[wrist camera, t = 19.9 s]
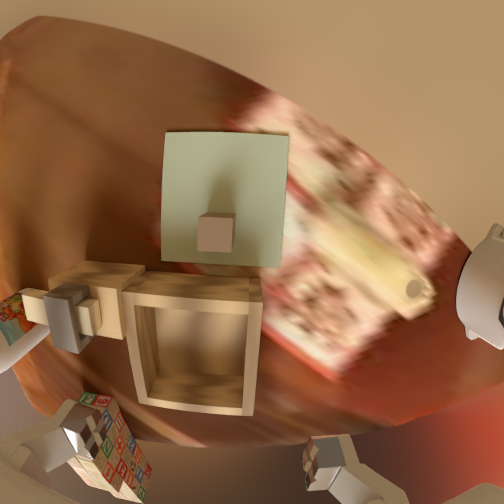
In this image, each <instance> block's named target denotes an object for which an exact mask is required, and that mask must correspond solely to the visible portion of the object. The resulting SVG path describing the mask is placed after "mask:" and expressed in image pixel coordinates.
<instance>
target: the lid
mask: <svg viewBox="0 0 504 504" xmlns="http://www.w3.org/2000/svg"><path fill="white" fill-rule="evenodd" d="M288 143H289V136H281V135H268V134H253V133H232V132H169V133H166V134H165V146H164V160H163V177H162V202H161V261H172V262H187V263H204V264H220V265H238V266H256V267H276V268H280V261H281V249H282V236H283V223H284V209H285V194H286V179H287V162H288Z"/></svg>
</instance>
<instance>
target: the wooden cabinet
mask: <svg viewBox="0 0 504 504" xmlns="http://www.w3.org/2000/svg"><path fill="white" fill-rule="evenodd" d="M48 285H49V291H50V292H48V293H46V294H45V295H43V299H44V305H45V310H46V315H47V319H48V324H49V328H50V332H51V336H52V340H53V344H54V347H55V348H59V349H62V350H66V351H69V352H73V353H77V354H79V353H80V352H81V351H82V350H83V349H84V348H85V347H86V346H87V345H88V343H89V342H90V341H91V340H92V339H93V338H94V337H95V336H96V335H100V336H105V337H111V338H116V339H122V340H123V338H124V337H125V336H127V343H128V349H129V355H130V361H131V366H132V372H133V377H134V382H135V386H136V391H137V395H138V400H139V403H142V404H147V405H153V406H158V407H164V408H171V409H178V410H185V411H193V412H202V413H213V414H226V415H244V416H253V408H254V398H255V388H256V377H257V366H258V355H259V344H260V333H261V321H262V309H263V299H262V291H261V283H260V278H250V277H233V276H217V275H201V274H187V273H173V272H160V271H147V270H146V265H135V264H122V263H110V262H99V261H87V260H85V261H83V262H81V263H79V264H77V265H75V266H73V267H71V268H69V269H67V270H65V271H63V272H61V273H59V274H57V275H55V276H54V277H52V278H50V279H48ZM83 298H90V299H97V300H98V301H99V309H100V315H101V322H102V327H101V328H100V330H99V331H98V332H97V333H96V334H95V335H94V336H89V335H85V334H80V333H79V331H78V326H77V321H76V315H75V310H74V305H75V304H77V303H78V302H79V301H81V300H82V299H83Z"/></svg>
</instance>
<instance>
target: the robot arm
mask: <svg viewBox="0 0 504 504" xmlns="http://www.w3.org/2000/svg"><path fill="white" fill-rule="evenodd" d="M456 307H457V313H458V316H459V318H460V320H461V321H462V323H463V324H464V325H465V330H466V336H467V338H469V339H470V340H474V339H476V338H478V337H480V338H482V339H483V340H485V341H486V342H488V343H490V344H491V345H493V346H495V347H496V348H498V349H503V348H504V227H502V226H501V225H498V224H494V225H493V226H492V227H491V229H490V231H489V233H488V235H487V237H486V238H485V239H484V241H482V242H481V243H480V244H479V245H478V246H477V247H476V248H475V249H474V251H473V252H472V253H471V255H470V257H469V258H468V260H467V262H466V264H465V266H464V268H463V271H462V274H461V277H460V280H459V284H458V289H457V296H456ZM101 417H102V414H101V412H100V410H97V409H94V408H91V407H89V406H86V405H83V404H81V403H78V402H75V401H73V400H70V399H68V400H66V401H65V402H64V403H63V404H62V406H61V407H60V408H59V410H58V411H57V412H56V413H55V415H54V416H53V417H52V419H51V420H50V421H44V422H41V423H39V424H36V425H33V426H31V427H28V428H25V429H22V430H19V431H16V432H13V433H10V434H7V435H6V437H5V438H4V439H3V440H2V442H1V443H0V504H80V503H78V502H76V501H73V500H71V499H69V498H67V497H65V496H63V495H61V494H59V493H57V492H55V491H53V490H52V489H51V488H52V486H53V485H54V481H53V479H52V478H51V477H50V476H49V475H48V473H47V472H49V471H51V470H53V469H54V468H56V467H58V466H60V465H61V464H63V463H65V462H66V461H68V460H70V459H71V458H73V457H75V456H76V455H80V456H83V457H85V458H88V459H91V460H94V459H95V457H96V455H97V453H98V452H99V447H98V445H99V444H101V443H103V442H104V440H105V438H106V433H107V430H106V425H105V423H104V422H103V421H102V420H101ZM303 467H304V470H305V471H306V472H307V475H306V477H305V480H306V487H307V491H313V490H325V489H329V491H330V492H331V493H332V494H333V495H334V496H335V497H336V498H337V499H338V500H339V501H340V502H341V503H342V504H409V501H408V499H407V497H406V494H405V492H404V491H403V490H401V489H400V488H398V487H397V486H395V485H394V484H392V483H391V482H389V481H388V480H386V479H385V478H383V477H382V476H380V475H379V474H377V473H376V472H374V471H373V470H372V469H370V468H369V467H367V466H366V465H365V464H360V463H359V460H358V457H357V454H356V451H355V449H354V445H353V443H352V440H351V437H350V435H349V434H342V435H329V436H316V437H310V438H309V440H308V447H307V448H306V449H305V451H304V455H303ZM442 504H504V489H503V488H500V487H498V486H495V485H493V484H489V483H482V484H479V485H477V486H475V487H473V488H472V489H470V490H468V491H466V492H464V493H462V494H460V495H458V496H457V497H454V498H452V499H450V500H449V501H446V502H444V503H442Z"/></svg>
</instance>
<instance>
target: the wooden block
mask: <svg viewBox="0 0 504 504" xmlns="http://www.w3.org/2000/svg"><path fill="white" fill-rule="evenodd" d="M48 292H49V291H43V290H38V289H31V290H29V291H27V292H26V293H24V294H22V299H23V304H24V308H25V313H26V317H27V320H29V321H33V322H36V323H40V324H43V325H47V326H49V324H48V319H47V315H46V310H45V305H44V299H43V295H45V294H46V293H48ZM74 310H75V315H76V321H77V326H78V331H79V333H80V334H85V335H89V336H94V335H95V334H96V333H97V332H98V331H99V330H100V328H101V327H102V322H101V315H100V309H99V301H98V300H97V299H90V298H83V299H82V300H81V301H79V302H78V303H77V304H75V305H74Z"/></svg>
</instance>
